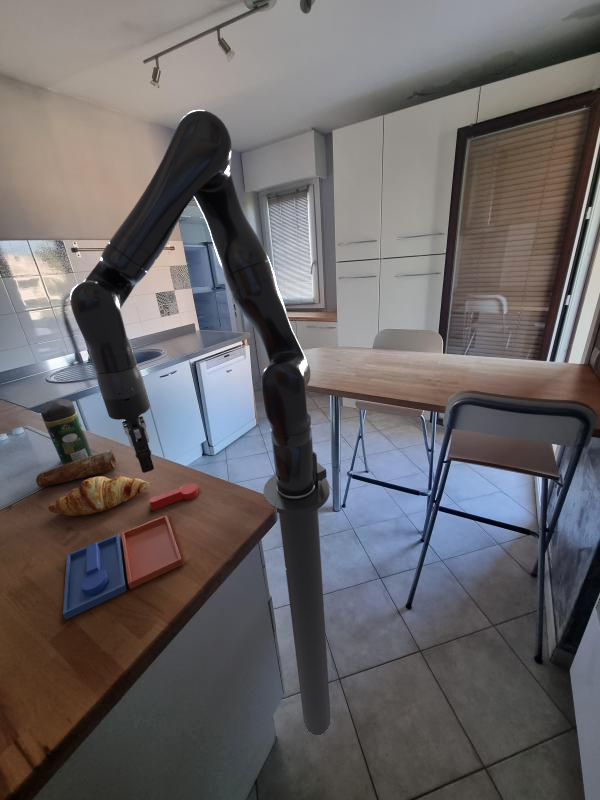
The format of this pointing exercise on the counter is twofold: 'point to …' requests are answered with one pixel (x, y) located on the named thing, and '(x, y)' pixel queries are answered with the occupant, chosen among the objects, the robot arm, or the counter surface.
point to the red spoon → (174, 496)
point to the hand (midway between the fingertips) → (145, 461)
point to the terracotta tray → (149, 551)
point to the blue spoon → (93, 572)
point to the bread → (78, 469)
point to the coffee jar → (65, 430)
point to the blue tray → (77, 571)
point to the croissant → (98, 495)
